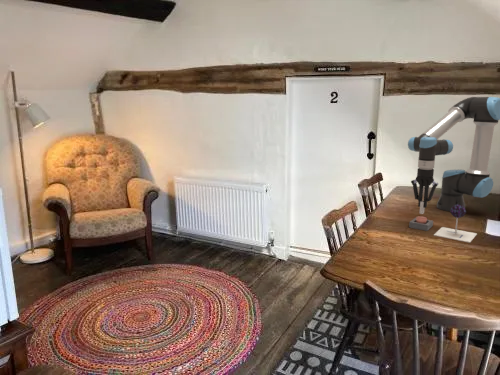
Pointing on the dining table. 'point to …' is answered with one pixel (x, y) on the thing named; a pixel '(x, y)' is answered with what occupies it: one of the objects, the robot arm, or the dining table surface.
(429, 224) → the button housing
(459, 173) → the robot arm
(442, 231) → the paper pad
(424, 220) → the button
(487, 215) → the dining table surface
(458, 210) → the lollipop
